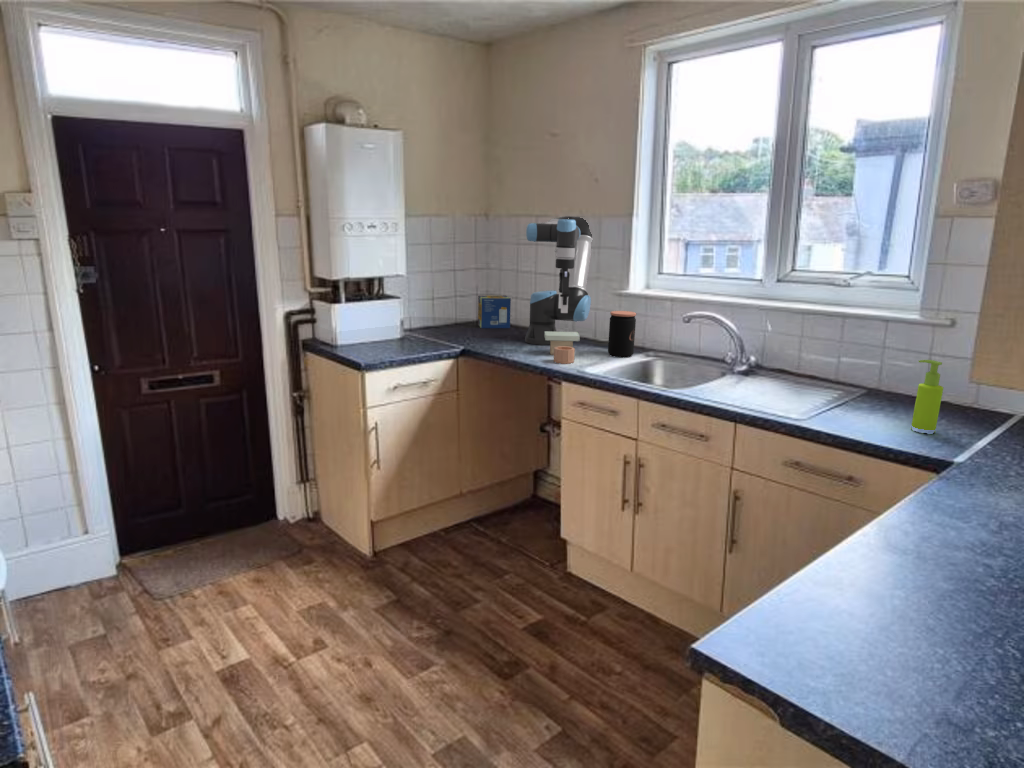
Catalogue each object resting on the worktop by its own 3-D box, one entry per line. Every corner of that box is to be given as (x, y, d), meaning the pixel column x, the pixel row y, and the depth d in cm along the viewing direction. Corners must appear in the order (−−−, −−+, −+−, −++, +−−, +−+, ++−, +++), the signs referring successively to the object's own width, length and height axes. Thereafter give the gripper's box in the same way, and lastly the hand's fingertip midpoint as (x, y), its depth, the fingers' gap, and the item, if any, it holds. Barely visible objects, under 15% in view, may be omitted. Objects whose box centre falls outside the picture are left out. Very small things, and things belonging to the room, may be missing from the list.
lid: (544, 336, 284) (544, 331, 284) (577, 336, 285) (577, 332, 284) (545, 340, 275) (545, 335, 274) (579, 341, 275) (579, 336, 274)
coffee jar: (633, 358, 275) (636, 315, 271) (606, 356, 277) (609, 313, 273) (633, 353, 285) (636, 311, 281) (608, 352, 287) (611, 310, 283)
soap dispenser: (912, 425, 192) (924, 357, 187) (938, 432, 187) (951, 362, 182) (902, 429, 189) (915, 359, 184) (929, 435, 183) (942, 364, 178)
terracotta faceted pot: (553, 359, 270) (553, 346, 268) (573, 359, 270) (573, 346, 268) (554, 363, 262) (554, 349, 260) (574, 364, 262) (575, 350, 260)
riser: (549, 352, 284) (550, 337, 283) (571, 352, 284) (571, 337, 283) (550, 354, 278) (551, 339, 277) (572, 355, 278) (573, 340, 277)
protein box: (477, 325, 349) (477, 295, 346) (506, 324, 353) (507, 295, 349) (480, 328, 340) (481, 297, 336) (510, 328, 343) (511, 297, 339)
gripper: (553, 256, 284) (552, 306, 289) (557, 260, 259) (555, 314, 265) (571, 256, 284) (569, 306, 289) (577, 260, 259) (574, 315, 265)
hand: (562, 310), depth 277 cm, fingers open, 13 cm apart
